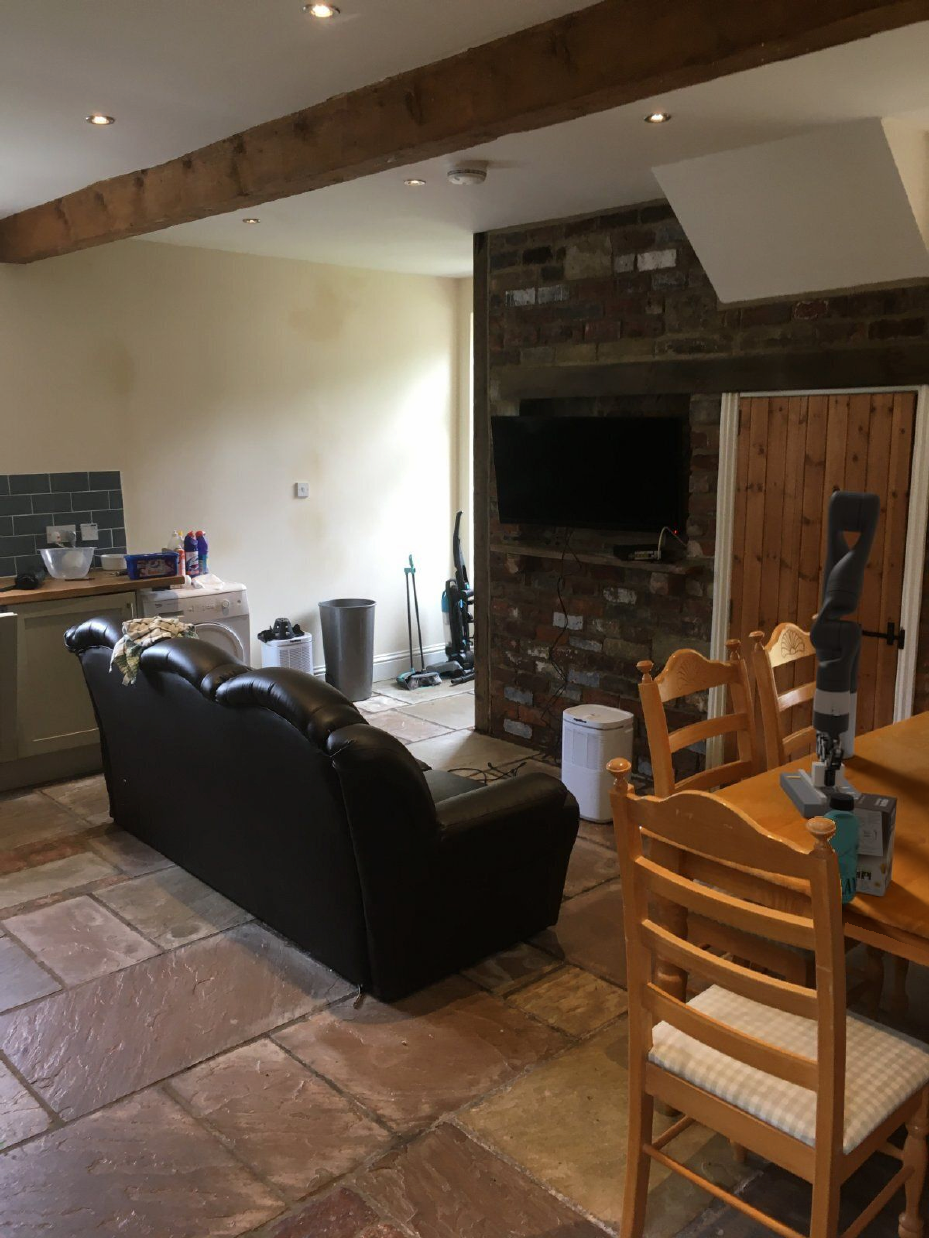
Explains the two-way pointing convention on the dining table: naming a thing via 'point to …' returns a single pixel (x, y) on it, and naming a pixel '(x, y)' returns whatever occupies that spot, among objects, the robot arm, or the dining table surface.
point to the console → (811, 793)
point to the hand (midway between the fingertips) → (827, 783)
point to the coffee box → (875, 842)
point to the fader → (818, 777)
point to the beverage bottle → (845, 842)
